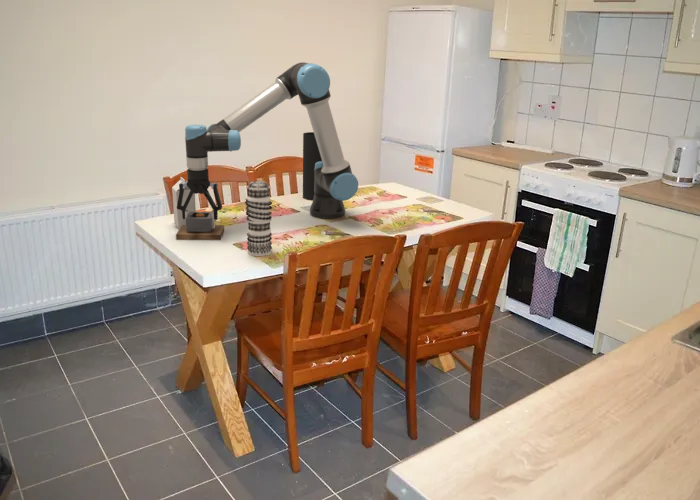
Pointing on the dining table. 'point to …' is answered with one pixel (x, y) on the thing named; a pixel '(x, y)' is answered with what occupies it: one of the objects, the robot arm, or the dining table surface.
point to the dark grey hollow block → (199, 222)
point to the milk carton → (191, 206)
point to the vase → (309, 164)
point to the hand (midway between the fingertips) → (200, 227)
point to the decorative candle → (258, 218)
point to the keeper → (200, 233)
